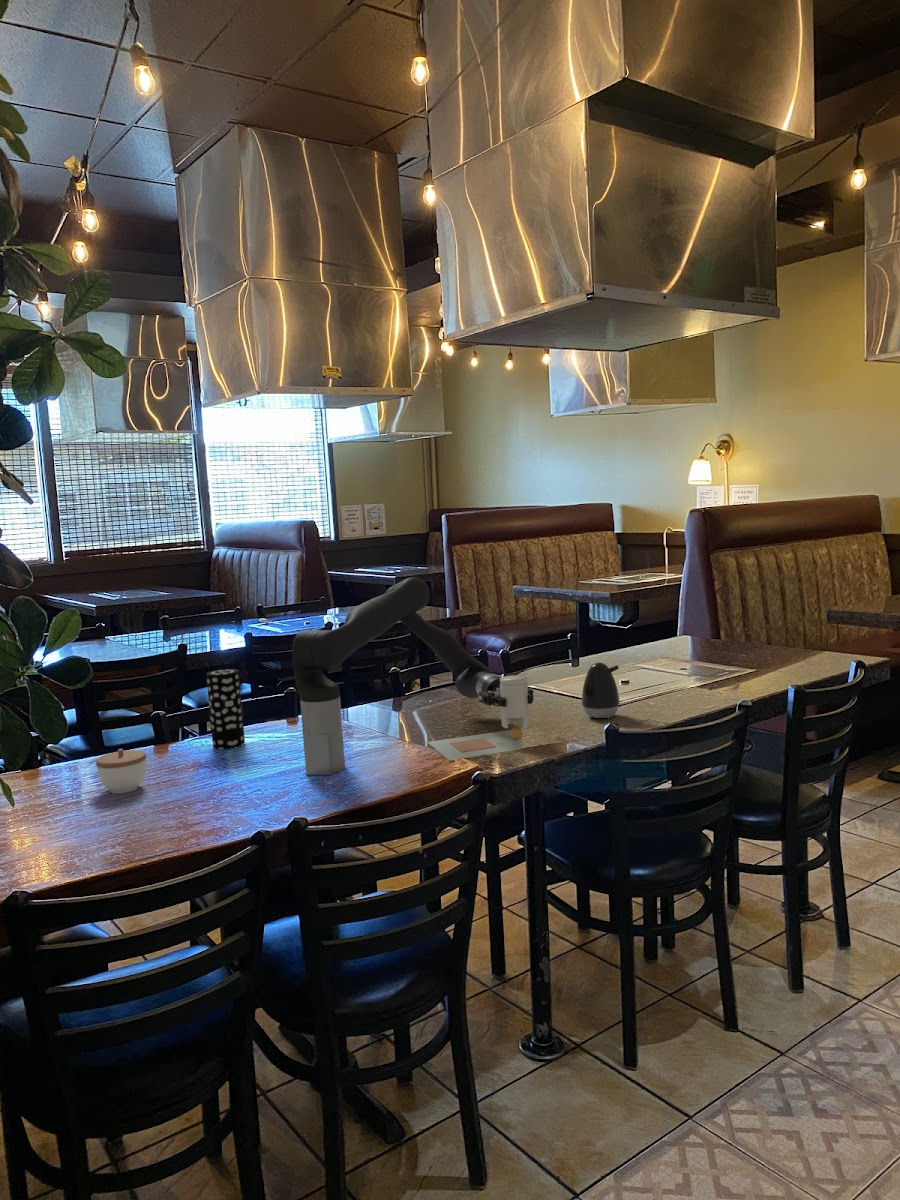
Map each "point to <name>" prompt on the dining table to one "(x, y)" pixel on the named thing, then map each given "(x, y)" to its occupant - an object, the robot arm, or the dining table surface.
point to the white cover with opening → (514, 700)
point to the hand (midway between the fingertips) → (517, 701)
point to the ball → (516, 733)
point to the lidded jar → (122, 770)
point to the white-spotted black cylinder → (225, 708)
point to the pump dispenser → (600, 692)
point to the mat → (477, 745)
